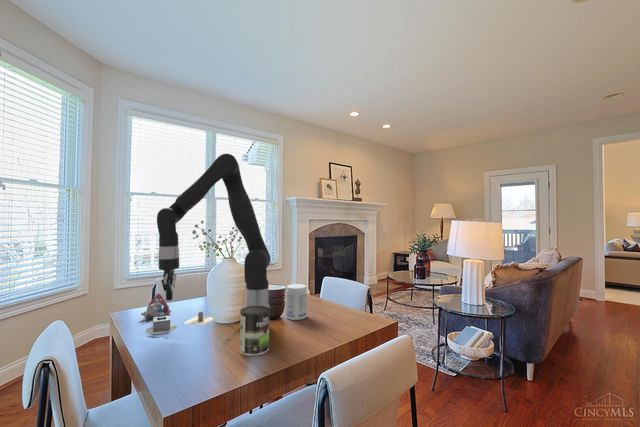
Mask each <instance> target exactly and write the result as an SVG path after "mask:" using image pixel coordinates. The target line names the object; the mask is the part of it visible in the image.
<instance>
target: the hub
mask: <svg viewBox="0 0 640 427" xmlns="http://www.w3.org/2000/svg"><path fill="white" fill-rule="evenodd" d="M160 320H165V319H160ZM177 327H178V326H177V325H176V324H174V323H170V330H167V331H159V332H153V325H152V326H150V327H148V328H146V329H145V333H147V334H150V335H151V334H152V335H160V334H166V333H170V332H172V331H174V330H176V329H177ZM146 337H147V338H152V339H153V338H154V339H158V338H160V336H159V337H158V336H149V335H147V336H146Z"/></svg>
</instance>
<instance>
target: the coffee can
mask: <svg viewBox="0 0 640 427" xmlns="http://www.w3.org/2000/svg"><path fill="white" fill-rule="evenodd" d="M239 312H240V325H239V326H240V328H239V329H240V331H239V333H240V334H239V353H240V354H241V355H244V356H247V357H257V356H262V355H264V354H266V353H268V352H269V351H270V316H271V315H270V313H271V309H270V308H268V307H265V306H249V307H246V306H245V307H242V308H241V309H240V311H239ZM267 351H268V352H267ZM261 354H262V355H261Z"/></svg>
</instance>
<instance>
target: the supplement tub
mask: <svg viewBox="0 0 640 427" xmlns="http://www.w3.org/2000/svg"><path fill="white" fill-rule="evenodd" d="M285 294H286V295H285V304H286V305H285V308H286V309H285V310H286V312H285V316H286V319H288V320H291V321H299V320H301V321H302V320H304V319H305V318H306V317H307V312H308V311H307V306H308V305H307V303H308V302H307V296H308V295H307V286H306V285H305V284H300V283H293V284H289V285H287V286H286V289H285Z"/></svg>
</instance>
